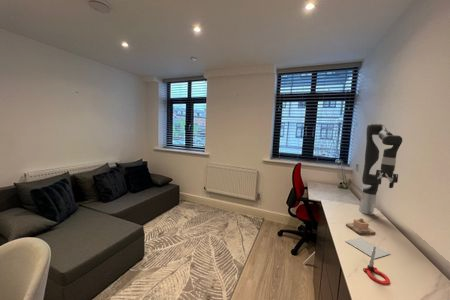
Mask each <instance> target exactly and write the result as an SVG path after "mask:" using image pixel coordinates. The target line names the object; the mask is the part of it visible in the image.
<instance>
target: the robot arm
mask: <svg viewBox="0 0 450 300" xmlns="http://www.w3.org/2000/svg"><path fill="white" fill-rule="evenodd" d="M373 136H378V138H379V139H380V140H381V142H382V144H383V145H386V146H392V147H390V148H389V147H388V148H385V149H383V154H382V158H381V164H380V169H376V171H375V174H373V173H370V172H371V170H372V168H373V166H374V165H375V164H376V163H377V162H378V161H379V158H380V150H379V147H378V146H377V144H376V143H375V142H374V139H373V138H374V137H373ZM402 143H403V137H401V135H396V134H395V135H394V134H393V133H391V132H390V131H388V129H387V128H386V127H385V125H383V124H381V123H368V125H367V127H366V144H365V154H364V167H363V173H362V177H361V178H362V179H361V181H362V184H363V185H365V186H366V185H367V186H368V187H364V188H363V189H362V193H361V194H362V195H361V199H360V201H359V208H358V210H359V212H360V213H363V214H364V215H365V214H366V215H368V216H369V215H370V216H372V215H374V212H375V206H376V200H377V192H378V190H379V189H378V188H379V185H382V179H383V178H385V179H387V180H388V181H389V184H388V188H389V189H393V188H394V186H395V185H394V184H395V183H396V184H397V183H398V182H399V179H398V178H399V174H398V173H394V172H395V168H396V163H397V154H398V150H399V149H400V147H401V145H402Z"/></svg>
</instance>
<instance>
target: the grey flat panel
mask: <svg viewBox="0 0 450 300" xmlns="http://www.w3.org/2000/svg"><path fill="white" fill-rule="evenodd" d="M345 242H346V243H348V244H350V245H351V246H353V247H355V248H356V249H358V250H360V251H361V252H363V253H365V254H366V255H368V256H369V257H371V256H372V251H373V249H374V247H376V249H375V251H376V252H375V257H374V260H376V259H378V258H381V257H384V256H388V255H391V253H390V252H388V251H386V250H384V249H383V248H381V247H379V246H378V245H376V244H373V243H372V242H369V241H368V240H366V239H364V238H363V237H356V238H353V239H347V240H345Z"/></svg>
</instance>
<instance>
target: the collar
mask: <svg viewBox="0 0 450 300" xmlns="http://www.w3.org/2000/svg"><path fill="white" fill-rule="evenodd" d="M359 219H360V218H357V219H353V226H355V227H356V228H358V229H360V230H368V228H369V226H370V223H369V222H367V221H365V220H364V221H363V223H360V222H359Z"/></svg>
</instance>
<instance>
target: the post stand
mask: <svg viewBox="0 0 450 300" xmlns="http://www.w3.org/2000/svg"><path fill="white" fill-rule="evenodd" d="M358 219H359V222H360V223H363V221H365V220H364V219H363V218H358ZM345 226H346V227H347V228H349V229H350V230H352V231H353V232H354V233H356V234H358V235H359V236H360V235H361V236H362V235H363V236H364V235H366V236H367V235H368V236H369V235H376V231H375V230H373V229H371V228H369V227H368V230H360V229H358V228H356V227H355V226H353V223H351V222H350V223H345Z"/></svg>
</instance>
